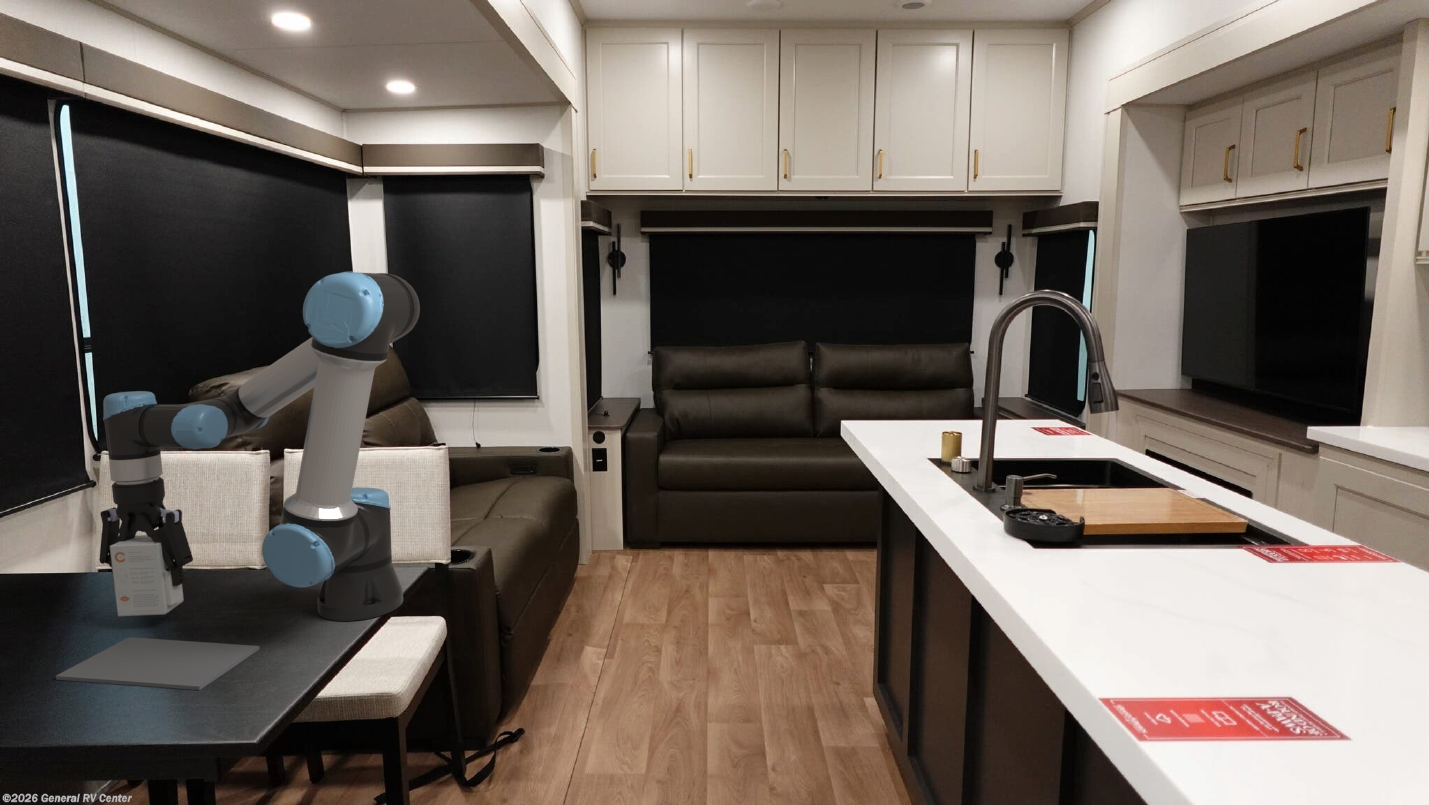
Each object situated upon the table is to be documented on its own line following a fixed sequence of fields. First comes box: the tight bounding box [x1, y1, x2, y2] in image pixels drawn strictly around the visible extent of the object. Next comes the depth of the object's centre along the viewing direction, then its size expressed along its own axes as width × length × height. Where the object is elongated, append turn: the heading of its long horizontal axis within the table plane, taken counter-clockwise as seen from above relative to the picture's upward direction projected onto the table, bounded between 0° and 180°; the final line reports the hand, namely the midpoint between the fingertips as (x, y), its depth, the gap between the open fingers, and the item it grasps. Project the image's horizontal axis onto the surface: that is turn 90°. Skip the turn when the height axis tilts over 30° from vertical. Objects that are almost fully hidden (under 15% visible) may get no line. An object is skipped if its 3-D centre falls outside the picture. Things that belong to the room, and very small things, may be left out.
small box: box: [110, 534, 184, 617], centre depth 146 cm, size 8×6×13 cm
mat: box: [55, 636, 261, 691], centre depth 132 cm, size 24×14×1 cm, turn 84°
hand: (150, 601), depth 146 cm, fingers closed on small box, 9 cm apart
